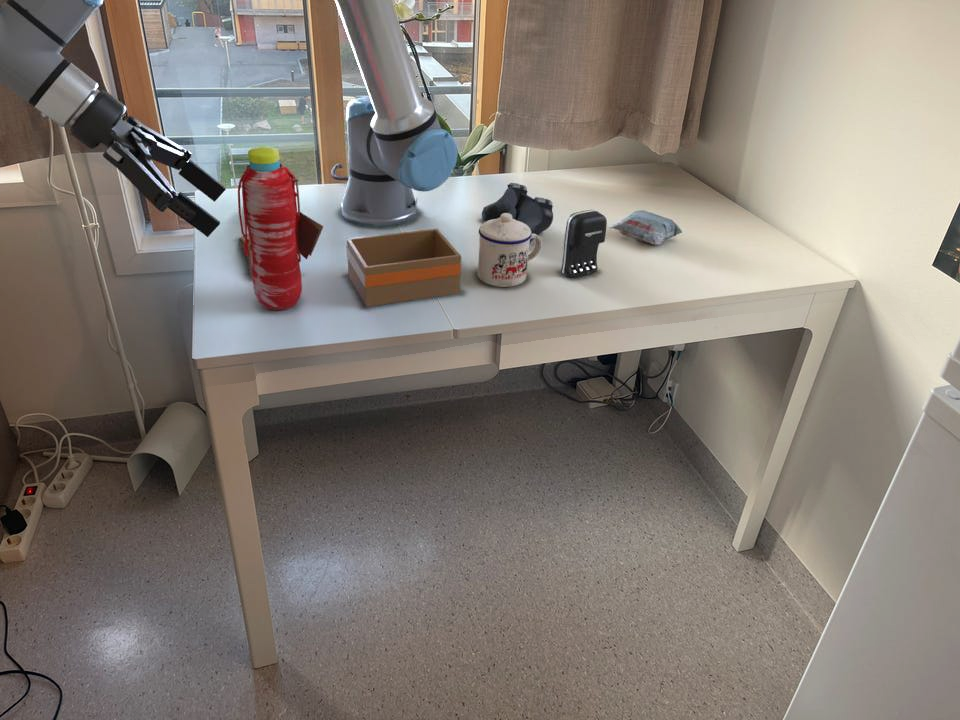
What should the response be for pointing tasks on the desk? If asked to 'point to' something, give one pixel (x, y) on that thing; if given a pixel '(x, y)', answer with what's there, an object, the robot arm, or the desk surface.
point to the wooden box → (403, 267)
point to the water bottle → (274, 229)
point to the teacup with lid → (505, 251)
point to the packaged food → (647, 227)
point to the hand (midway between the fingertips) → (217, 211)
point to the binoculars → (522, 209)
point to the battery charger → (583, 242)
